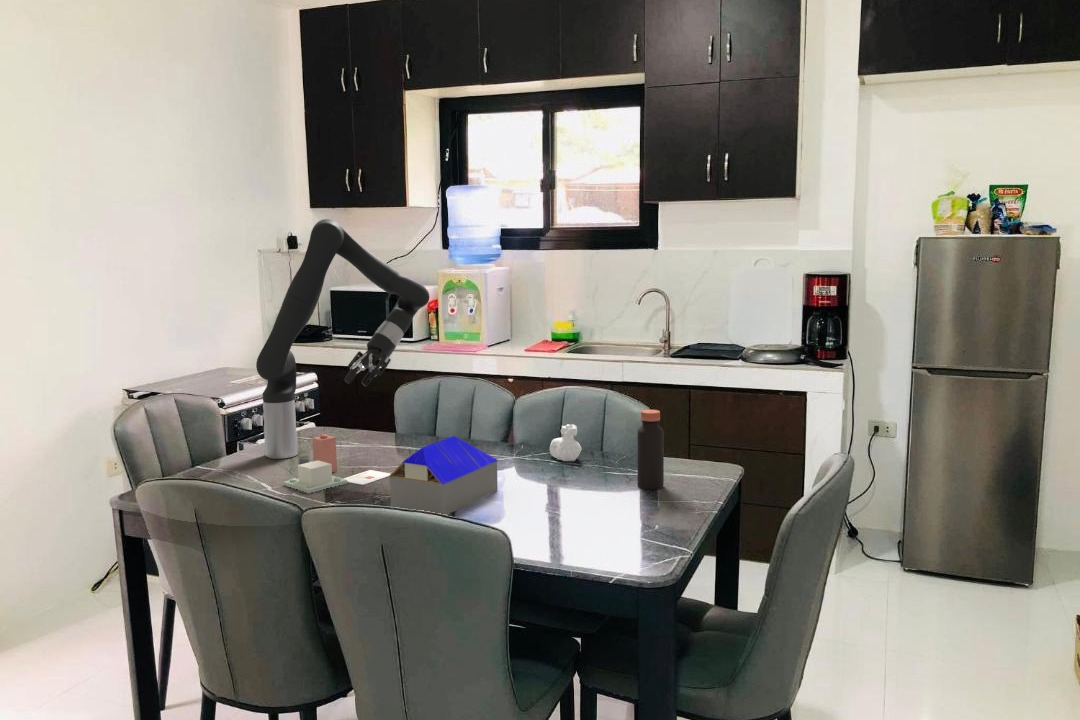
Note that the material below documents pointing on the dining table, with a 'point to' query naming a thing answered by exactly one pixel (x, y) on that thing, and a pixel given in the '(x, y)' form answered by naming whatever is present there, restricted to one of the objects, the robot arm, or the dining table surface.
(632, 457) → the dining table surface
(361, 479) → the page
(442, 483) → the house
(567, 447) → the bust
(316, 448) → the tall brick
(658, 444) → the bottle
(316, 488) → the tower base
